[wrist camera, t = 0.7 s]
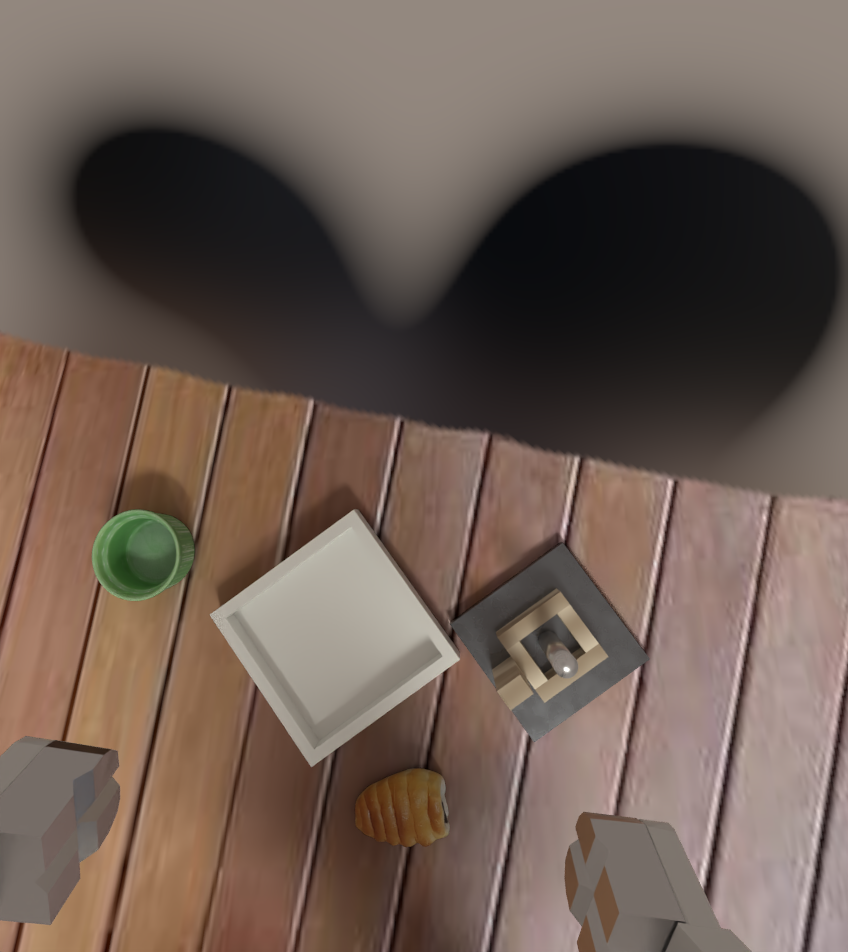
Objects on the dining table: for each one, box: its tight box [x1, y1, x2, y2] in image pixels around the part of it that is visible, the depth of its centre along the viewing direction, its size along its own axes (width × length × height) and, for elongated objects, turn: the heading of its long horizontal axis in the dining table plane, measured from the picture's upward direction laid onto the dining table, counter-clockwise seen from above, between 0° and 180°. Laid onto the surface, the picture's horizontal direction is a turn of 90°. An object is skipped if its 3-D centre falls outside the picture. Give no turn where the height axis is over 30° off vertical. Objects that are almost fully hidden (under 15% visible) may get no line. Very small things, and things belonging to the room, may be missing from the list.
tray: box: [210, 510, 460, 767], centre depth 52 cm, size 18×18×2 cm
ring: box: [492, 588, 608, 710], centre depth 48 cm, size 8×10×6 cm
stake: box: [450, 542, 649, 742], centre depth 48 cm, size 14×14×9 cm
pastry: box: [355, 768, 450, 847], centre depth 50 cm, size 9×7×4 cm
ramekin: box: [92, 509, 195, 601], centre depth 53 cm, size 9×9×4 cm
